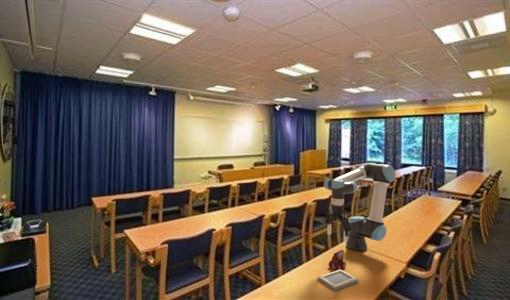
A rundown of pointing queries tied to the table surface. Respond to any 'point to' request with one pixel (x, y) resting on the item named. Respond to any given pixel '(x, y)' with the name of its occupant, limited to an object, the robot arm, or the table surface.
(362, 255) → the table surface
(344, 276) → the base board
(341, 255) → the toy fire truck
